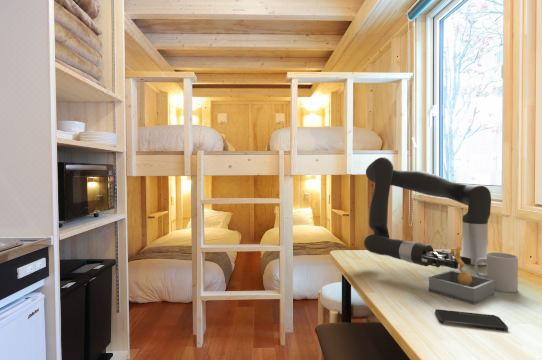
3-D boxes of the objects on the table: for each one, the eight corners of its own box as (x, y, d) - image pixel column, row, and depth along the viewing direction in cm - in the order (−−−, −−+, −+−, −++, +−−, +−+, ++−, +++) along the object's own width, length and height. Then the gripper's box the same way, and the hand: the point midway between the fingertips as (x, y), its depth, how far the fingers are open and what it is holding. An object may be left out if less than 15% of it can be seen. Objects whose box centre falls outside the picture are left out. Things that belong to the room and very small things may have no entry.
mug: (514, 286, 111) (514, 253, 111) (520, 294, 104) (521, 259, 104) (473, 281, 117) (473, 250, 116) (476, 288, 109) (476, 255, 109)
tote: (449, 283, 114) (449, 270, 114) (494, 294, 103) (494, 280, 103) (428, 291, 107) (428, 277, 107) (474, 304, 96) (474, 288, 95)
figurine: (471, 290, 100) (472, 250, 100) (449, 286, 103) (450, 248, 103) (472, 282, 107) (473, 245, 107) (451, 279, 110) (451, 243, 110)
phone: (509, 328, 79) (440, 320, 83) (509, 333, 79) (440, 325, 83) (497, 315, 86) (434, 308, 91) (497, 319, 86) (434, 312, 91)
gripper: (404, 244, 113) (453, 254, 100) (426, 240, 121) (475, 248, 108) (404, 266, 113) (452, 279, 100) (426, 260, 122) (474, 271, 108)
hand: (464, 263), depth 104 cm, fingers closed on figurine, 7 cm apart
